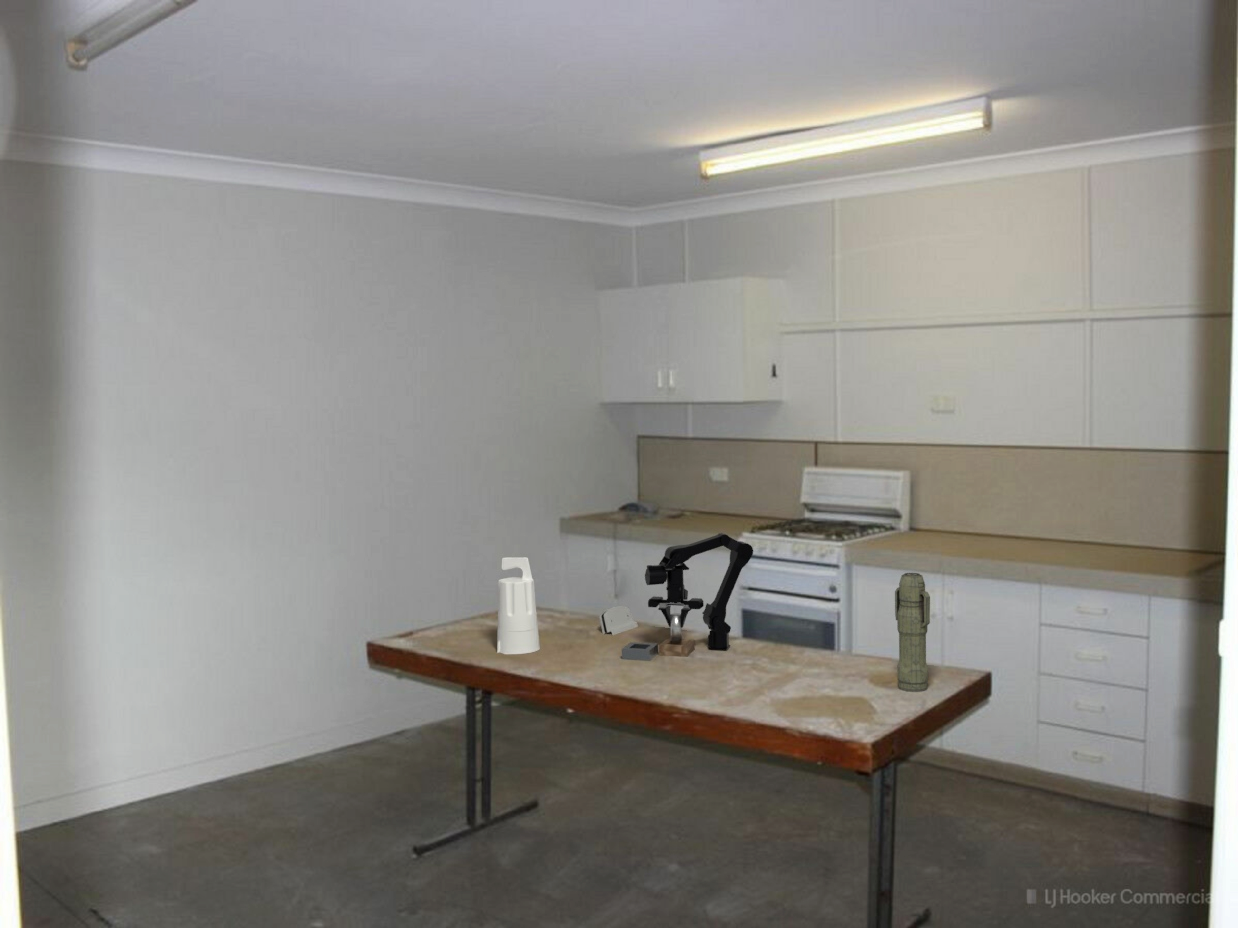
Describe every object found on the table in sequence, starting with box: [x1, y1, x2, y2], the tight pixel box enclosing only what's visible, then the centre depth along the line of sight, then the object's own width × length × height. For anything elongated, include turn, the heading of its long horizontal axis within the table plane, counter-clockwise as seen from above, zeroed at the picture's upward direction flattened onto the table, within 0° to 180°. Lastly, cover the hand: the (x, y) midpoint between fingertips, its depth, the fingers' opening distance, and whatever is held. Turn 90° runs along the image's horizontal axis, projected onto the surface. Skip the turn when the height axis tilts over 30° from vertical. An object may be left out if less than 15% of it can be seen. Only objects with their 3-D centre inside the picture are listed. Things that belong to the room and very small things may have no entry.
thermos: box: [894, 572, 931, 693], centre depth 340 cm, size 9×12×35 cm
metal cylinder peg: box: [669, 612, 683, 641], centre depth 391 cm, size 4×4×9 cm
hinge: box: [598, 605, 639, 636], centre depth 430 cm, size 17×5×10 cm, turn 143°
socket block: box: [658, 638, 696, 658], centre depth 392 cm, size 10×10×4 cm
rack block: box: [621, 641, 659, 662], centre depth 388 cm, size 10×10×4 cm
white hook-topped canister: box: [496, 556, 541, 656], centre depth 402 cm, size 15×15×33 cm
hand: (676, 627), depth 391 cm, fingers closed on metal cylinder peg, 4 cm apart
